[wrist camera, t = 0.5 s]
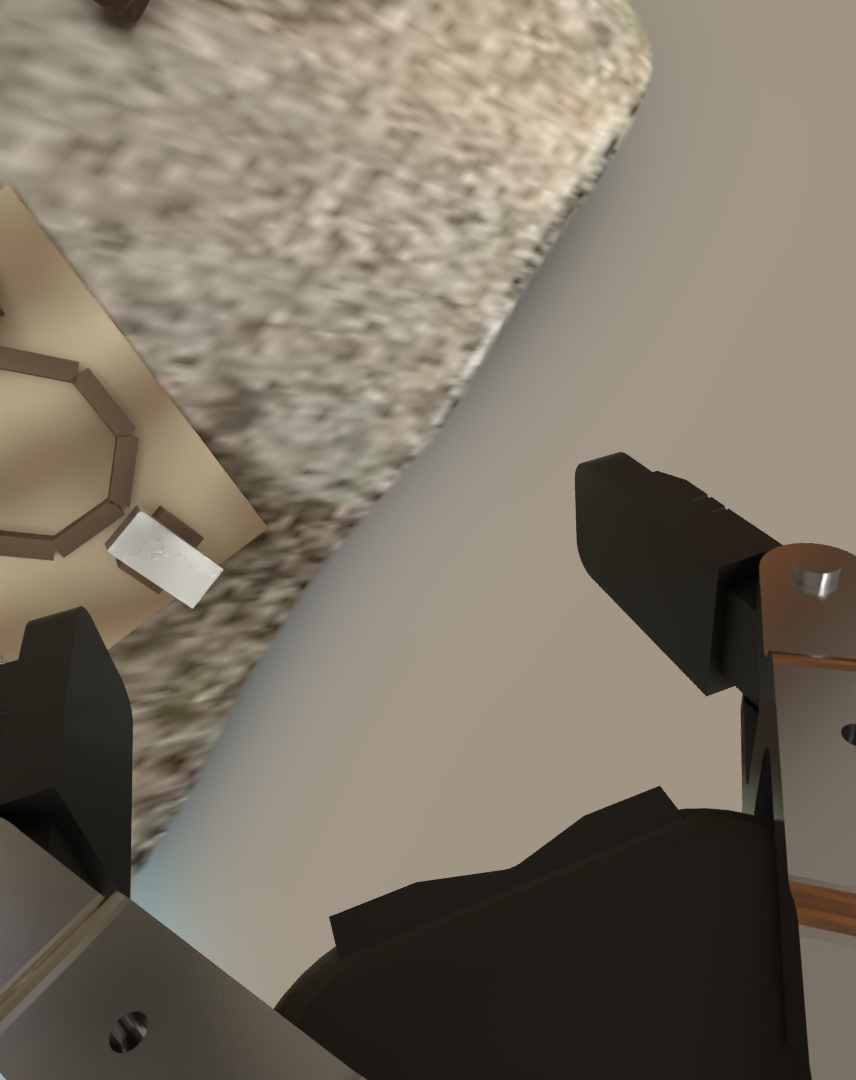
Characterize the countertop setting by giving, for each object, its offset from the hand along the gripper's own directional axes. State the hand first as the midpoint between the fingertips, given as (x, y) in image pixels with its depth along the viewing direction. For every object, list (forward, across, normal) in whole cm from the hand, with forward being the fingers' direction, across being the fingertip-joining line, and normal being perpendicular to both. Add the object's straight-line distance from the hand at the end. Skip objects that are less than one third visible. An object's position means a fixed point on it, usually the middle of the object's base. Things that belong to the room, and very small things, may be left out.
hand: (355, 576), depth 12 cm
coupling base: (+23, +10, +5) cm, 25 cm away
